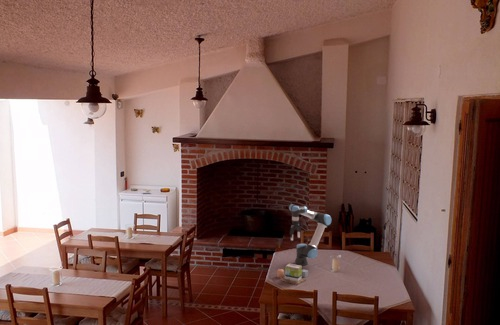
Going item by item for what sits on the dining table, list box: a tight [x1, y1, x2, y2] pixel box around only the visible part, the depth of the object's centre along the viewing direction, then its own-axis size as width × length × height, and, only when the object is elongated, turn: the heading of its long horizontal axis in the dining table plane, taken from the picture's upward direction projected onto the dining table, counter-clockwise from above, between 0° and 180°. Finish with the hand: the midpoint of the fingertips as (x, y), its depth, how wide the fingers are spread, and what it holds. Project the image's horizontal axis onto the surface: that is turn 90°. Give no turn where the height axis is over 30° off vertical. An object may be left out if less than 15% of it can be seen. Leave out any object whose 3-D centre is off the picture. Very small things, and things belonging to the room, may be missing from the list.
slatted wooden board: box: [280, 277, 307, 286], centre depth 468 cm, size 16×20×2 cm
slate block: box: [302, 268, 309, 278], centre depth 481 cm, size 6×6×6 cm
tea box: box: [284, 262, 303, 282], centre depth 467 cm, size 15×10×15 cm
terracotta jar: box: [276, 268, 285, 280], centre depth 477 cm, size 7×7×8 cm
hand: (295, 238), depth 491 cm, fingers open, 13 cm apart
